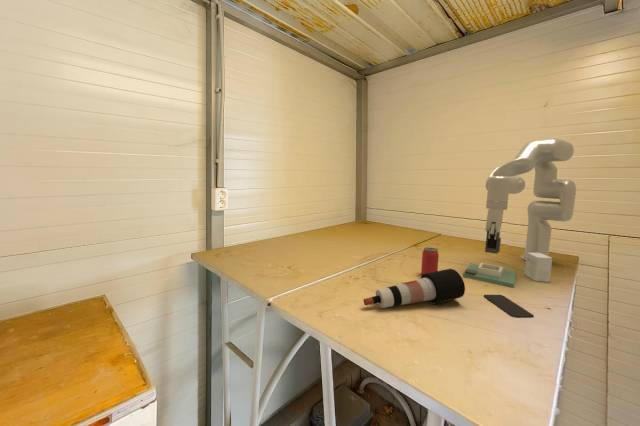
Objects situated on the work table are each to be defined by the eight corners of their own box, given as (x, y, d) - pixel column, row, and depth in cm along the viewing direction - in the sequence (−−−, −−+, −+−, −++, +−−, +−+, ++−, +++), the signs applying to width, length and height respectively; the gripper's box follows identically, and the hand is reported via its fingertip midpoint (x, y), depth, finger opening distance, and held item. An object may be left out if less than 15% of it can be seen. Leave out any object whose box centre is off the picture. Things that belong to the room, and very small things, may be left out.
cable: (363, 317, 89) (356, 287, 92) (450, 298, 96) (441, 270, 99) (373, 319, 80) (365, 285, 83) (469, 297, 87) (458, 266, 90)
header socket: (480, 267, 122) (481, 262, 122) (502, 272, 117) (502, 266, 116) (477, 272, 116) (478, 267, 115) (500, 277, 110) (501, 271, 110)
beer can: (437, 274, 118) (439, 248, 116) (436, 279, 112) (438, 251, 110) (421, 271, 121) (423, 246, 119) (420, 276, 115) (422, 250, 113)
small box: (549, 282, 109) (553, 258, 108) (534, 281, 110) (537, 257, 109) (538, 275, 117) (541, 252, 116) (524, 274, 118) (526, 251, 117)
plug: (486, 249, 118) (488, 230, 117) (499, 252, 115) (501, 231, 114) (484, 251, 114) (486, 231, 113) (498, 254, 111) (500, 233, 110)
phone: (512, 316, 81) (482, 294, 96) (512, 318, 82) (481, 296, 96) (535, 316, 82) (502, 294, 96) (535, 318, 82) (501, 296, 97)
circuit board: (470, 266, 129) (470, 261, 129) (515, 274, 118) (516, 269, 117) (462, 276, 115) (463, 271, 115) (513, 287, 104) (514, 281, 104)
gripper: (488, 203, 121) (484, 242, 123) (483, 206, 108) (479, 249, 110) (508, 204, 116) (504, 245, 119) (505, 207, 103) (500, 252, 106)
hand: (492, 246), depth 114 cm, fingers closed on plug, 4 cm apart
